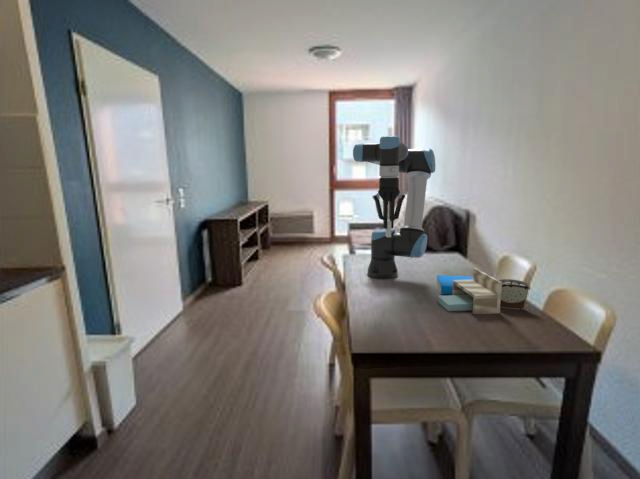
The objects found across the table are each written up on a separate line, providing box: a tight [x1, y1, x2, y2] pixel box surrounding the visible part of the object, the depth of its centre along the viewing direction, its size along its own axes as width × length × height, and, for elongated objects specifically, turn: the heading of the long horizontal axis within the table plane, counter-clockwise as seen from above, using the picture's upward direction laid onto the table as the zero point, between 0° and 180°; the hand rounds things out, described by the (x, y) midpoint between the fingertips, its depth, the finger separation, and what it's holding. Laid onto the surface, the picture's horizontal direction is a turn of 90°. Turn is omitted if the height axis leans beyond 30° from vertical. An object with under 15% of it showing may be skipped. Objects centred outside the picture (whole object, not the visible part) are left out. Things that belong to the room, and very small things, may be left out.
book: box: [436, 275, 473, 295], centre depth 170 cm, size 17×4×25 cm
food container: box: [498, 278, 531, 311], centre depth 149 cm, size 12×6×10 cm, turn 71°
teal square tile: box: [437, 294, 473, 312], centre depth 150 cm, size 10×12×3 cm
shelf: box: [451, 267, 502, 315], centre depth 150 cm, size 20×10×12 cm, turn 5°
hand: (388, 236), depth 154 cm, fingers closed
